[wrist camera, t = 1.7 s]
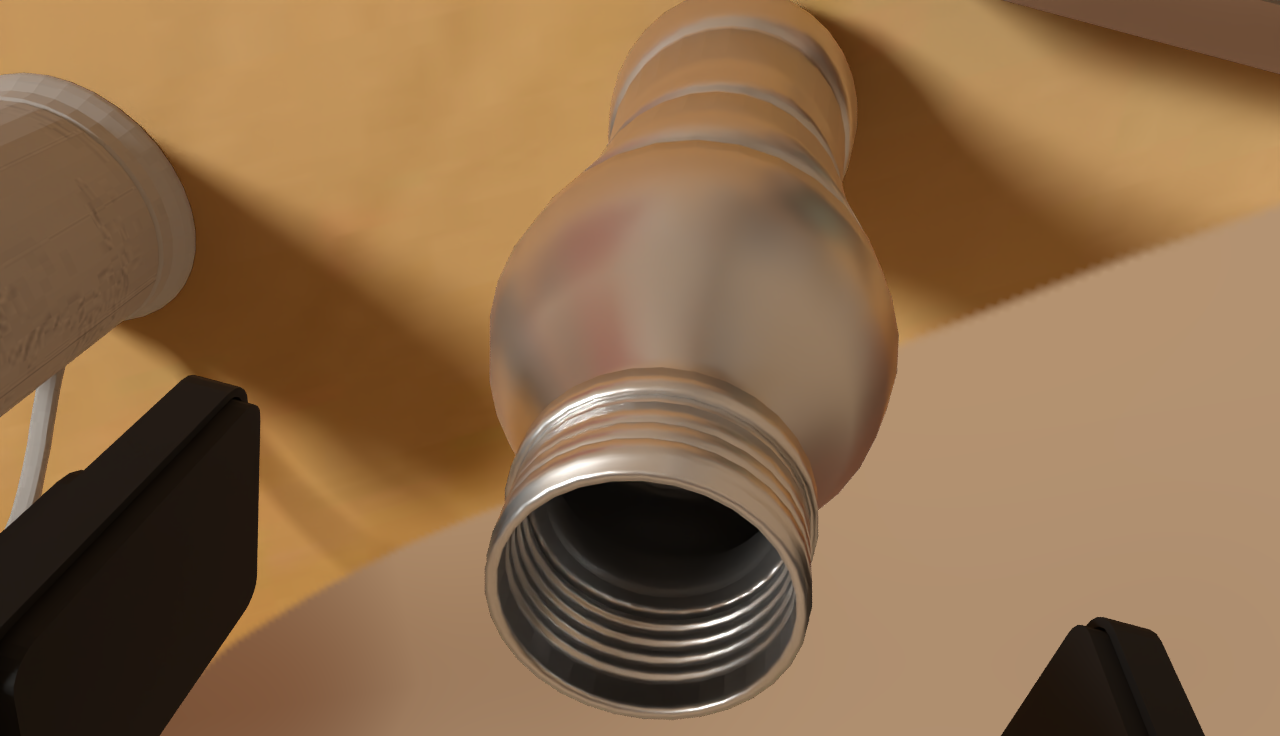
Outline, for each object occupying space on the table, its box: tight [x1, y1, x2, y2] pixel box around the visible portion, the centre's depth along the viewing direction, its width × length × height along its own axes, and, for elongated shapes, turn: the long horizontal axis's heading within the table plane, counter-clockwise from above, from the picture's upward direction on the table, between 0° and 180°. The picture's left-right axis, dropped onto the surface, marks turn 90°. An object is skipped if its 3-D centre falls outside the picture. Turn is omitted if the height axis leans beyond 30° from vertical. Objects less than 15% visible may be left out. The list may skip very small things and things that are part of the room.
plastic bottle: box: [485, 0, 899, 720], centre depth 19 cm, size 6×7×20 cm
